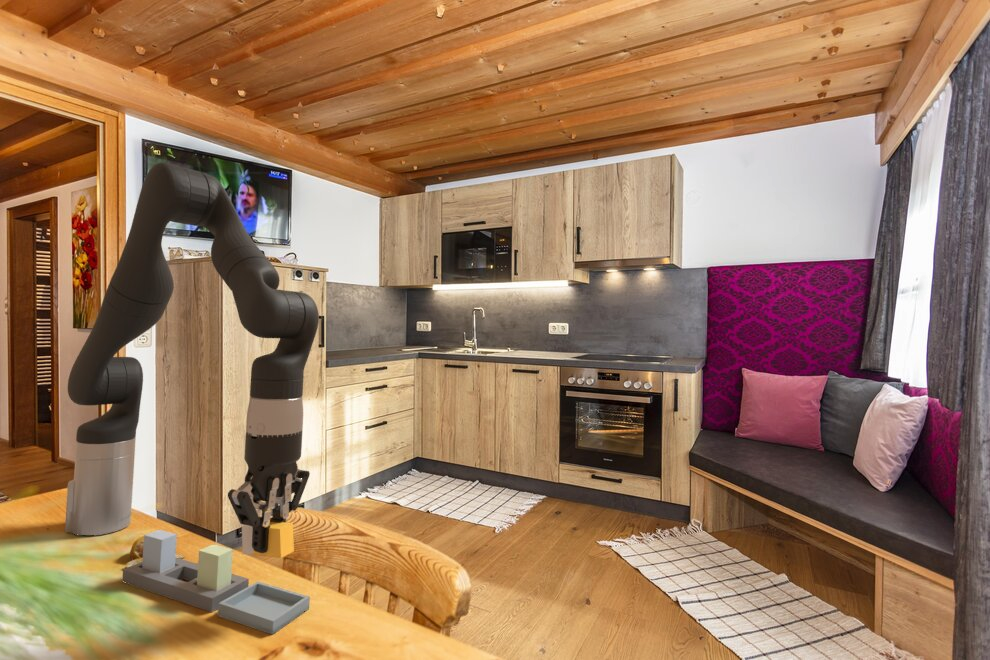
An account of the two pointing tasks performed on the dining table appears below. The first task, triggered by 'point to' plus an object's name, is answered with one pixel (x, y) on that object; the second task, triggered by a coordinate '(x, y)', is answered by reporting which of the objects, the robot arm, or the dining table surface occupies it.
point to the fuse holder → (182, 584)
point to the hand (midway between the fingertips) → (268, 547)
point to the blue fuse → (159, 551)
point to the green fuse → (214, 567)
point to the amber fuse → (271, 540)
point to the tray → (263, 607)
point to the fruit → (140, 552)
